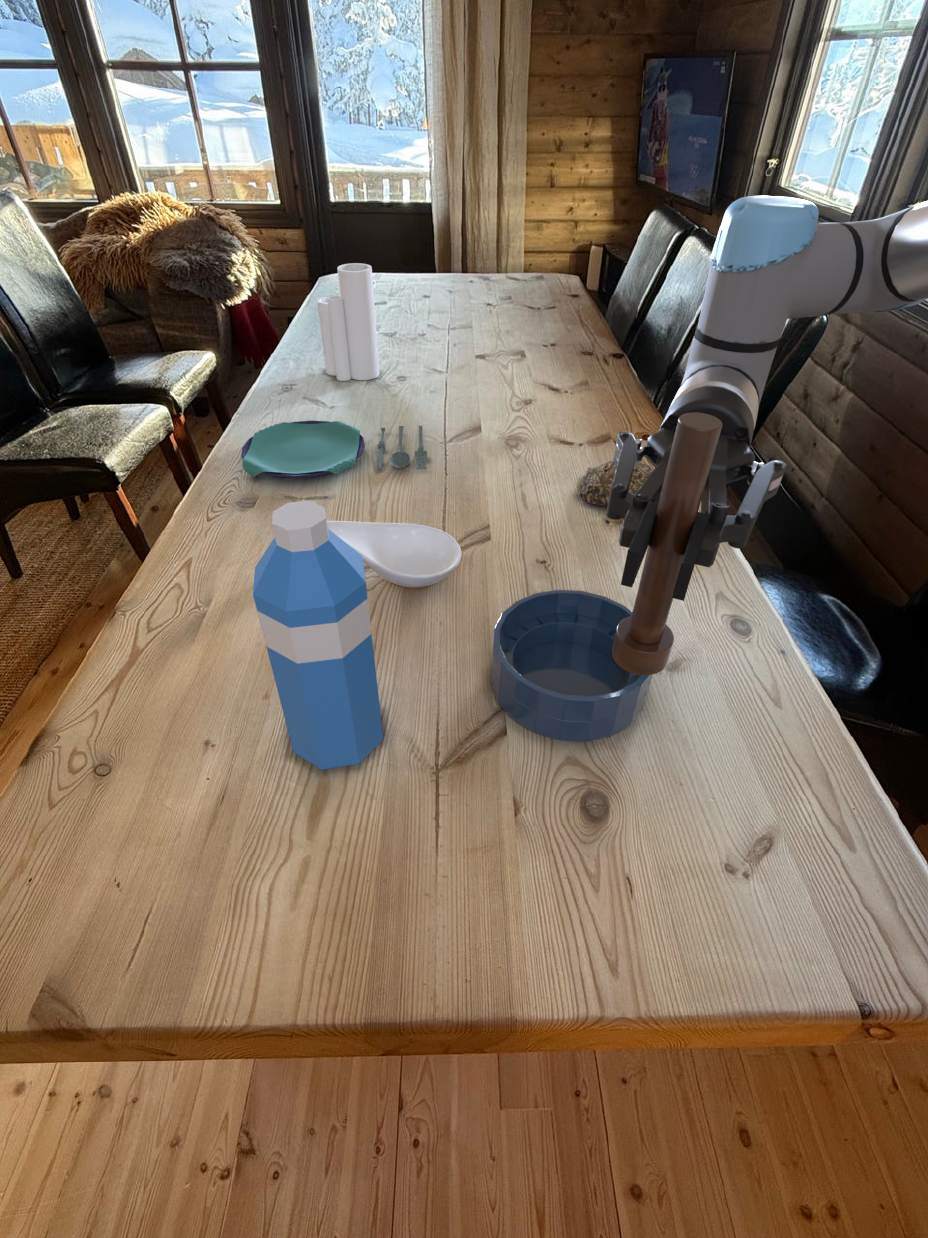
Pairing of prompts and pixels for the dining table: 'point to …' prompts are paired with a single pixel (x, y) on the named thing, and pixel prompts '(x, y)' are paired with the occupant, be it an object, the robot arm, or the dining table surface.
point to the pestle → (667, 546)
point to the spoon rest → (402, 550)
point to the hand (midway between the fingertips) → (656, 575)
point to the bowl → (565, 666)
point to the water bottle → (319, 638)
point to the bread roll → (609, 482)
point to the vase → (350, 325)
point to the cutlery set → (315, 449)
